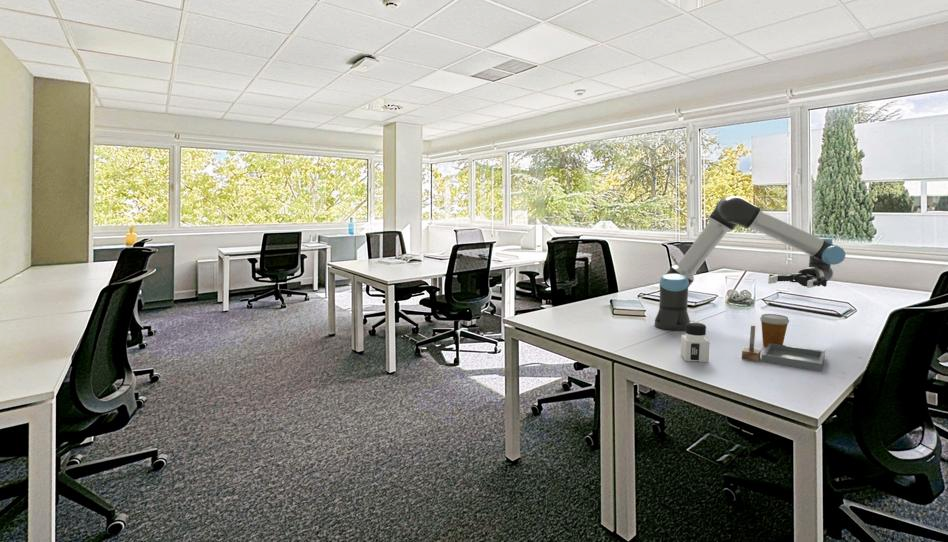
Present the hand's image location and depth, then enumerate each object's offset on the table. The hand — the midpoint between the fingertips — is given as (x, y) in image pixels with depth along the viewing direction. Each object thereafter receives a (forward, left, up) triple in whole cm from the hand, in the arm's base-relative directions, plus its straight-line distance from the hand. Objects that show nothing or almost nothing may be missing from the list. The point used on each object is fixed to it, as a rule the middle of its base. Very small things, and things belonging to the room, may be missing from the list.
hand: (788, 282), depth 185 cm
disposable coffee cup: (-3, -9, -24) cm, 26 cm away
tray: (+5, -23, -24) cm, 34 cm away
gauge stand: (-7, -30, -24) cm, 39 cm away
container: (-23, -42, -24) cm, 54 cm away
